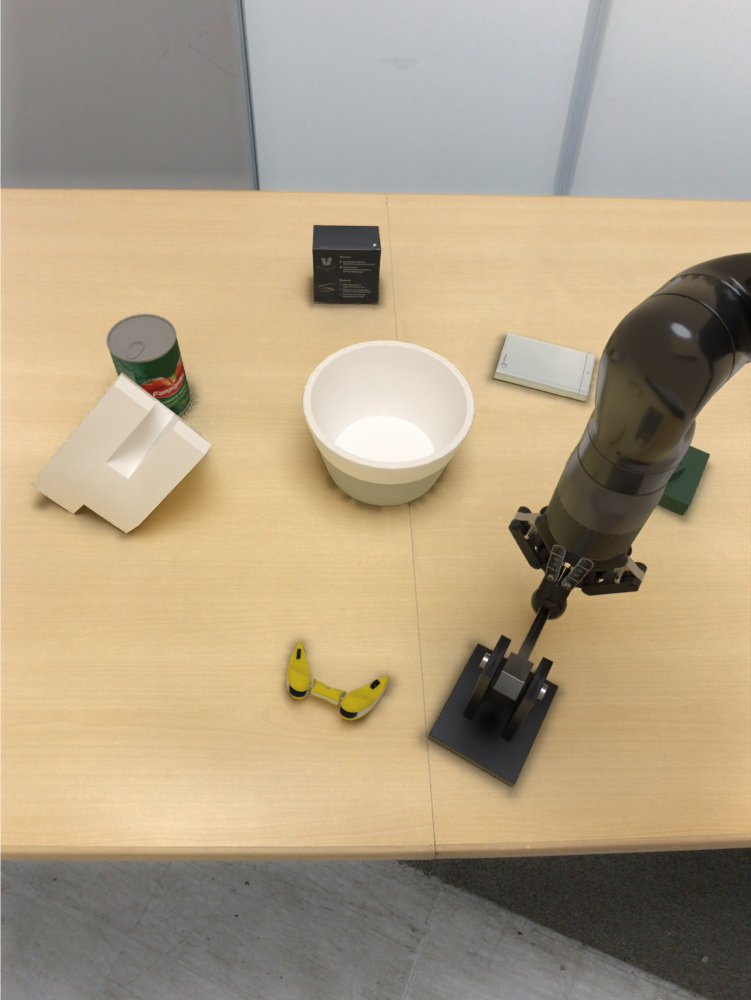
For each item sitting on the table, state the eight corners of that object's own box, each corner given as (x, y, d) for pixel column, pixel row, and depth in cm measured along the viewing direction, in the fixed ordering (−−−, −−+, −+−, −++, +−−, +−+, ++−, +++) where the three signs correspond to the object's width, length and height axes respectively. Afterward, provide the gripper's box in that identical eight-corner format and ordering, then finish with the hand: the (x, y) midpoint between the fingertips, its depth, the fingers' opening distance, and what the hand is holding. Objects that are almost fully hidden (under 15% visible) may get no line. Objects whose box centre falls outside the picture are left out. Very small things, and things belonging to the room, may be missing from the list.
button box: (703, 464, 93) (716, 444, 90) (682, 515, 88) (696, 496, 85) (620, 429, 96) (630, 408, 92) (595, 476, 91) (605, 456, 88)
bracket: (476, 647, 77) (496, 595, 68) (556, 690, 75) (589, 642, 65) (427, 738, 72) (442, 695, 62) (512, 787, 69) (541, 751, 60)
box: (376, 279, 110) (380, 224, 102) (378, 305, 107) (381, 249, 99) (314, 279, 110) (312, 222, 102) (313, 304, 106) (312, 248, 99)
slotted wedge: (114, 541, 86) (174, 500, 73) (29, 484, 82) (77, 430, 69) (173, 455, 94) (238, 403, 80) (98, 399, 90) (154, 334, 76)
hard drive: (495, 370, 98) (588, 394, 97) (507, 330, 103) (596, 352, 101) (493, 379, 100) (584, 403, 98) (505, 339, 104) (593, 361, 102)
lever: (531, 596, 77) (543, 571, 75) (563, 613, 77) (576, 588, 75) (483, 689, 66) (496, 662, 64) (520, 709, 65) (535, 682, 63)
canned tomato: (142, 373, 97) (122, 307, 88) (199, 384, 97) (186, 319, 88) (118, 418, 93) (94, 353, 84) (178, 429, 92) (161, 366, 83)
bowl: (389, 554, 83) (396, 500, 74) (272, 459, 90) (265, 399, 81) (492, 458, 92) (509, 399, 83) (378, 378, 99) (382, 316, 90)
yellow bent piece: (270, 700, 72) (273, 676, 70) (296, 657, 77) (301, 634, 75) (364, 740, 70) (371, 716, 68) (385, 693, 75) (392, 670, 74)
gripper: (511, 489, 59) (475, 591, 73) (672, 565, 55) (602, 656, 70) (547, 427, 62) (507, 536, 77) (700, 495, 59) (628, 595, 73)
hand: (552, 593), depth 73 cm, fingers closed
